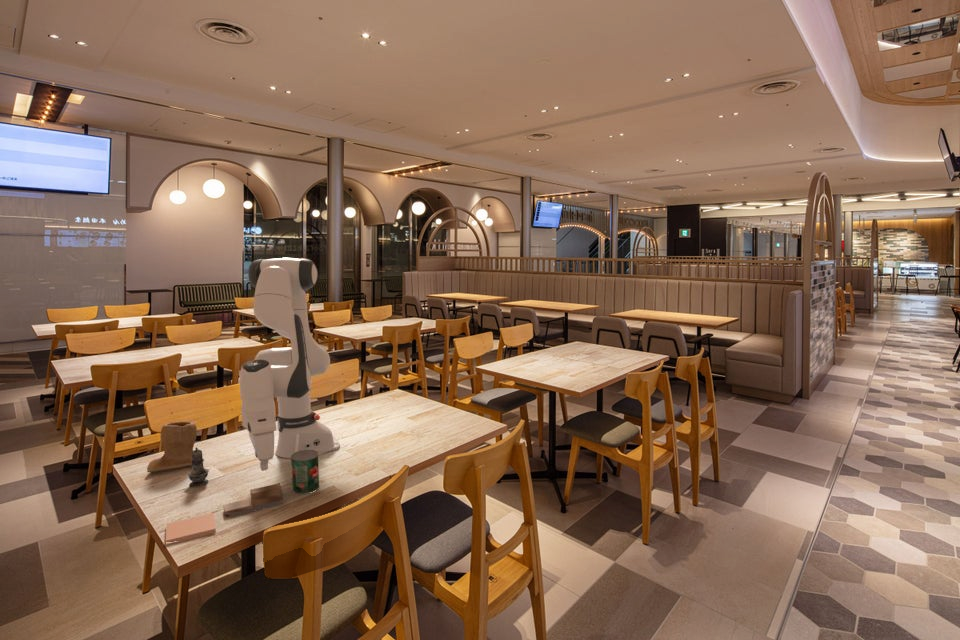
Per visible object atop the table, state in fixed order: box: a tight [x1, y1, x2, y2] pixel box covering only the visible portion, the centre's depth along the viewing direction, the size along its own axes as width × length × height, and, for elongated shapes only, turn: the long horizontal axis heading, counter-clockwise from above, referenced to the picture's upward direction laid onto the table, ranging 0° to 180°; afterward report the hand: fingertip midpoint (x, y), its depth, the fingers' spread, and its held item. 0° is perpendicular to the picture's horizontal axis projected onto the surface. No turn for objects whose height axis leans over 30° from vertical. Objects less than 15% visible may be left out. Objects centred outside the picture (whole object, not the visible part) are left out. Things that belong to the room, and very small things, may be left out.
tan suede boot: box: [146, 421, 198, 473], centre depth 166 cm, size 15×12×15 cm
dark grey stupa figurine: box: [187, 447, 210, 488], centre depth 153 cm, size 6×6×12 cm
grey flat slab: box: [228, 499, 284, 518], centre depth 141 cm, size 14×6×1 cm, turn 123°
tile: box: [165, 512, 217, 543], centre depth 128 cm, size 2×9×11 cm
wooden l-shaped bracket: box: [222, 483, 283, 516], centre depth 140 cm, size 15×4×4 cm, turn 123°
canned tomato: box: [290, 450, 320, 495], centre depth 151 cm, size 8×8×11 cm
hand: (261, 462), depth 141 cm, fingers open, 8 cm apart
